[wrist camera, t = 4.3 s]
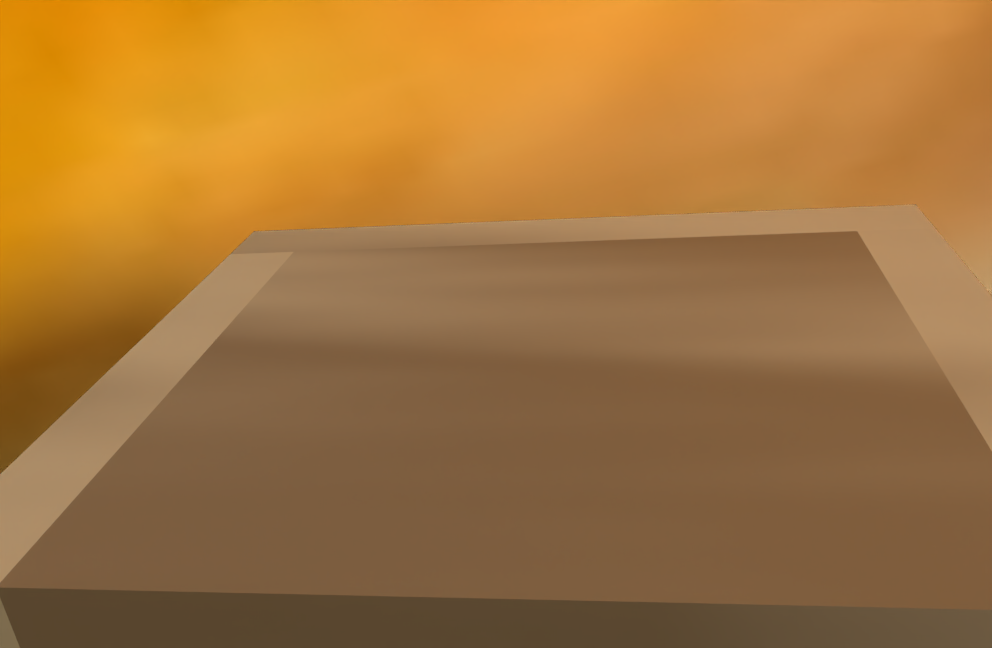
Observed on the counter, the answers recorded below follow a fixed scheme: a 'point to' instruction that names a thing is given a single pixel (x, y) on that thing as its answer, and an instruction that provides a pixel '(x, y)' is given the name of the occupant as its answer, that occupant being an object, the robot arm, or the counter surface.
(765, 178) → the counter surface
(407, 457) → the small crate
